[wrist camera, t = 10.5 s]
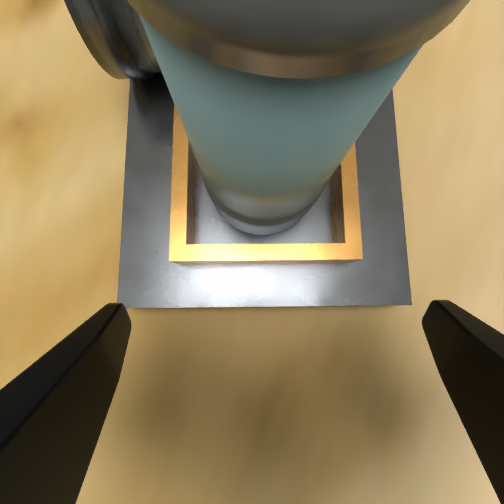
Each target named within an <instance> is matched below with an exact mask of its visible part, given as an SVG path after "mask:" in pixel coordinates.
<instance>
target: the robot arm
mask: <svg viewBox="0 0 504 504" xmlns="http://www.w3.org/2000/svg"><path fill="white" fill-rule="evenodd" d="M422 326H423V330H424V332H425V335H426V338H427V341H428V344H429V346H430V349H431V352H432V355H433V358H434V360H435V363H436V366H437V369H438V371H439V374H440V376H441V379H442V381H443V383H444V385H445V387H446V389H447V391H448V394H449V396H450V398H451V400H452V402H453V404H454V406H455V408H456V410H457V412H458V415H459V417H460V419H461V421H462V423H463V425H464V427H465V429H466V431H467V434H468V436H469V438H470V440H471V442H472V444H473V446H474V448H475V450H476V452H477V455H478V457H479V459H480V461H481V463H482V465H483V467H484V469H485V471H486V473H487V476H488V478H489V480H490V482H491V484H492V486H493V488H494V490H495V492H496V495H497V497H498V499H499V501H500V503H501V504H504V335H503V334H502V333H500V332H499V331H497V330H496V329H494V328H492V327H491V326H489V325H488V324H486V323H484V322H483V321H481V320H480V319H478V318H476V317H475V316H473V315H472V314H470V313H468V312H467V311H465V310H464V309H462V308H460V307H459V306H457V305H456V304H454V303H452V302H451V301H449V300H433V301H432V302H431V303H430V304H429V306H428V308H427V310H426V312H425V314H424V316H423V318H422ZM130 332H131V320H130V317H129V315H128V312H127V309H126V307H125V305H124V304H123V303H108V304H107V305H105V306H104V307H103V308H101V309H100V310H99V311H98V312H96V313H95V314H94V315H93V316H91V317H90V318H89V319H88V320H87V321H85V322H84V323H83V324H82V325H80V326H79V327H78V328H77V329H75V330H74V331H73V332H72V333H70V334H69V335H68V336H67V337H65V338H64V339H63V340H62V341H60V342H59V343H58V344H57V345H55V346H54V347H53V348H52V349H50V350H49V351H48V352H47V353H45V354H44V355H43V356H42V357H40V358H39V359H38V360H37V361H36V362H34V363H33V364H32V365H31V366H29V367H28V368H27V369H26V370H24V371H23V372H22V373H21V374H19V375H18V376H17V377H16V378H14V379H13V380H12V381H11V382H9V383H8V384H7V385H6V386H4V387H3V388H2V389H1V390H0V504H76V501H77V498H78V495H79V492H80V490H81V487H82V484H83V481H84V478H85V475H86V472H87V470H88V467H89V464H90V461H91V458H92V455H93V453H94V450H95V447H96V444H97V441H98V438H99V436H100V433H101V430H102V427H103V424H104V421H105V419H106V416H107V413H108V410H109V407H110V404H111V402H112V399H113V396H114V393H115V390H116V387H117V384H118V381H119V378H120V374H121V370H122V366H123V362H124V357H125V353H126V349H127V345H128V340H129V336H130Z"/></svg>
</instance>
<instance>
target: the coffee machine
mask: <svg viewBox="0 0 504 504" xmlns="http://www.w3.org/2000/svg"><path fill="white" fill-rule="evenodd" d="M64 1H65V3H66V6H67V8H68V10H69V13H70V15H71V17H72V19H73V21H74V23H75V25H76V28H77V30H78V31H79V33H80V35H81V37H82V39H83V41H84V43H85V44H86V46H87V48H88V49H89V51H90V52H91V54H92V55H93V57H94V58H95V60H96V61H97V62H98V64H99V65H100V66H101V67H102V68H103V69H104V70H105V71H106V72H107V73H108V74H109V75H110V76H112V77H114V78H116V79H130V92H129V109H128V126H127V143H126V161H125V178H124V195H123V212H122V230H121V247H120V264H119V281H118V298H117V303H123V304H124V305H125V307H126V308H175V307H272V306H368V305H412V302H411V291H410V280H409V269H408V257H407V246H406V235H405V224H404V213H403V202H402V191H401V180H400V169H399V158H398V147H397V135H396V124H395V113H394V102H393V91H392V90H391V91H390V93H389V94H388V96H387V97H386V98H385V100H384V101H383V103H382V104H381V106H380V107H379V108H378V110H377V111H376V113H375V114H374V116H373V117H372V118H371V120H370V121H369V123H368V124H367V126H366V127H365V129H364V130H363V131H362V133H361V134H360V136H359V137H358V139H357V140H356V141H355V143H354V144H353V146H352V147H351V149H350V150H349V151H348V153H347V154H346V156H345V157H344V159H343V160H342V161H341V163H340V164H339V166H338V167H337V169H336V170H335V172H334V173H333V174H332V176H331V177H330V179H329V180H328V182H327V183H326V186H325V188H324V190H323V192H322V193H321V195H320V197H319V198H318V200H317V201H316V202H315V204H314V205H313V206H312V207H311V208H310V210H309V211H307V212H306V213H305V214H304V216H303V217H302V218H301V219H300V220H299V221H298V222H297V223H296V224H294V225H293V226H291V227H290V228H288V229H286V230H284V231H281V232H279V233H275V234H269V235H256V234H250V233H247V232H244V231H241V230H239V229H237V228H235V227H234V226H232V225H231V224H230V223H228V222H227V221H226V220H225V219H224V218H223V217H222V216H221V214H220V213H219V212H218V210H217V208H216V206H215V204H214V202H213V201H212V200H211V198H210V196H209V194H208V192H207V190H206V188H205V185H204V182H203V179H202V176H201V171H200V167H199V164H198V162H197V159H196V157H195V154H194V152H193V149H192V147H191V144H190V142H189V139H188V137H187V134H186V132H185V129H184V127H183V124H182V122H181V119H180V117H179V114H178V112H177V109H176V107H175V104H174V102H173V99H172V97H171V94H170V92H169V89H168V87H167V84H166V81H165V79H164V76H163V74H162V71H161V69H160V66H159V64H158V61H157V59H156V56H155V54H154V51H153V49H152V46H151V44H150V41H149V39H148V36H147V34H146V31H145V29H144V26H143V24H142V21H141V19H140V16H139V14H138V12H137V11H136V10H135V9H134V8H133V7H132V6H131V5H130V4H129V3H128V1H127V0H64Z"/></svg>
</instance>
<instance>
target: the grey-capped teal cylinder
mask: <svg viewBox="0 0 504 504" xmlns="http://www.w3.org/2000/svg"><path fill="white" fill-rule="evenodd" d="M127 1H128V3H129V4H130V5H131V6H132V7H133V8H134V9H135V10H136V11H137V12H138V14H139V16H140V19H141V21H142V24H143V26H144V29H145V31H146V34H147V36H148V39H149V41H150V44H151V46H152V49H153V51H154V54H155V56H156V59H157V61H158V64H159V66H160V69H161V71H162V74H163V76H164V79H165V81H166V84H167V87H168V89H169V92H170V94H171V97H172V99H173V102H174V104H175V107H176V109H177V112H178V114H179V117H180V119H181V122H182V124H183V127H184V129H185V132H186V134H187V137H188V139H189V142H190V144H191V147H192V149H193V152H194V154H195V157H196V159H197V162H198V164H199V167H200V171H201V176H202V179H203V182H204V185H205V188H206V190H207V192H208V194H209V196H210V198H211V200H212V201H213V202H214V204H215V206H216V208H217V210H218V212H219V213H220V214H221V216H222V217H223V218H224V219H225V220H226V221H227V222H228V223H230V224H231V225H232V226H234V227H235V228H237V229H239V230H241V231H244V232H247V233H250V234H256V235H269V234H275V233H279V232H281V231H284V230H286V229H288V228H290V227H291V226H293V225H294V224H296V223H297V222H298V221H299V220H300V219H301V218H302V217H303V216H304V214H305V213H306V212H307V211H309V210H310V208H311V207H312V206H313V205H314V204H315V202H316V201H317V200H318V198H319V197H320V195H321V193H322V192H323V190H324V188H325V186H326V183H327V182H328V180H329V179H330V177H331V176H332V174H333V173H334V172H335V170H336V169H337V167H338V166H339V164H340V163H341V161H342V160H343V159H344V157H345V156H346V154H347V153H348V151H349V150H350V149H351V147H352V146H353V144H354V143H355V141H356V140H357V139H358V137H359V136H360V134H361V133H362V131H363V130H364V129H365V127H366V126H367V124H368V123H369V121H370V120H371V118H372V117H373V116H374V114H375V113H376V111H377V110H378V108H379V107H380V106H381V104H382V103H383V101H384V100H385V98H386V97H387V96H388V94H389V93H390V91H391V90H392V88H393V87H394V85H395V84H396V83H397V81H398V80H399V78H400V77H401V75H402V74H403V73H404V71H405V70H406V68H407V67H408V65H409V64H410V63H411V61H412V60H413V58H414V57H415V55H416V54H417V53H418V51H419V50H420V48H421V47H422V45H423V44H424V43H426V42H427V41H429V40H430V39H432V38H434V37H435V36H436V35H437V34H438V33H439V32H441V31H442V30H443V29H444V28H445V27H446V26H448V25H449V24H450V23H451V22H452V21H453V20H454V19H455V18H456V17H457V15H458V14H459V13H460V12H461V11H462V10H463V9H464V7H465V6H466V5H467V4H468V3H469V1H470V0H127Z"/></svg>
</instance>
